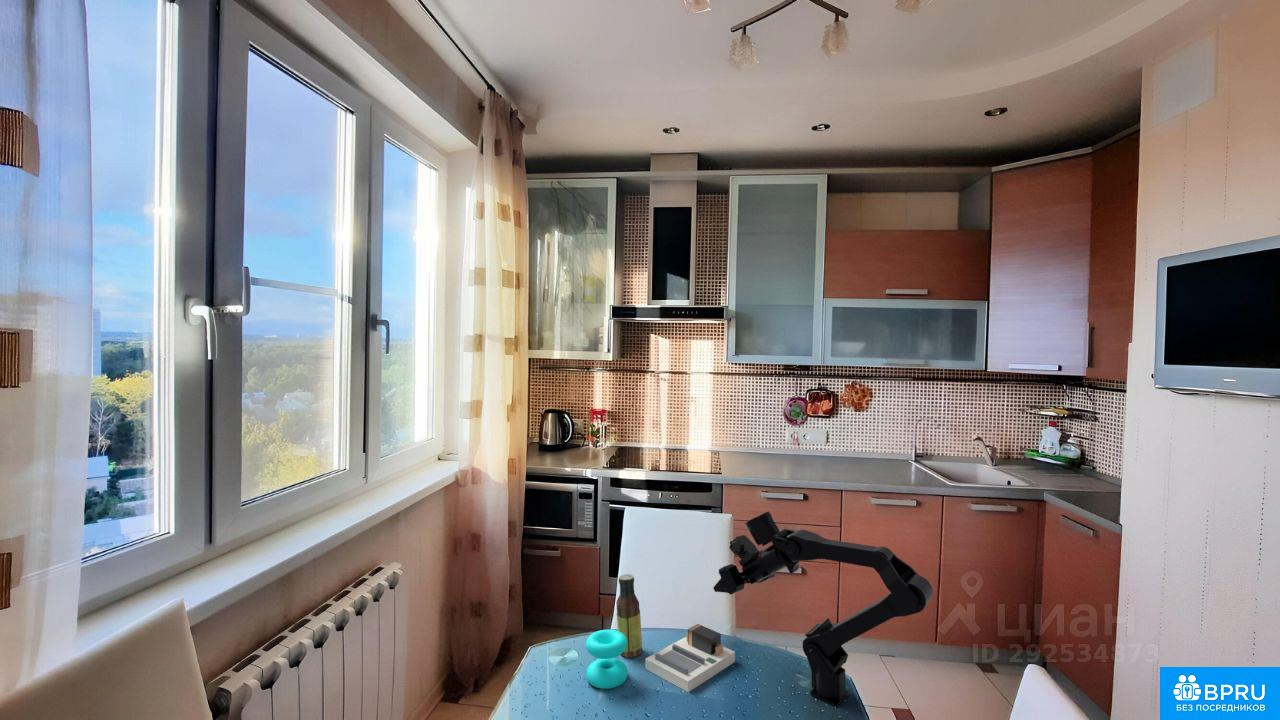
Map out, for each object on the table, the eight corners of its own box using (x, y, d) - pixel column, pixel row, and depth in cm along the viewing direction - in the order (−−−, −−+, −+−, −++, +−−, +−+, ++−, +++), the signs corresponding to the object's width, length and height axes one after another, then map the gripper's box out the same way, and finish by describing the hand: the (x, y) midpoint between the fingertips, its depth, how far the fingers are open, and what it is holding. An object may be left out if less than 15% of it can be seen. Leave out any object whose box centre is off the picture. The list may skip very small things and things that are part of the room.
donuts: (634, 632, 131) (613, 651, 122) (635, 673, 131) (614, 695, 122) (599, 624, 136) (577, 642, 127) (600, 664, 136) (578, 684, 127)
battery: (721, 649, 137) (720, 633, 137) (711, 655, 134) (710, 639, 134) (697, 638, 142) (696, 623, 142) (686, 644, 140) (686, 628, 140)
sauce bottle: (643, 647, 144) (641, 572, 144) (641, 659, 137) (639, 581, 138) (619, 646, 144) (617, 571, 145) (615, 658, 138) (614, 580, 138)
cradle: (735, 661, 135) (734, 643, 135) (688, 692, 123) (687, 672, 123) (692, 642, 145) (692, 625, 145) (645, 668, 133) (645, 650, 133)
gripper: (772, 525, 141) (731, 549, 149) (731, 535, 128) (688, 562, 136) (794, 566, 136) (750, 589, 144) (754, 581, 123) (708, 606, 131)
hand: (724, 585), depth 139 cm, fingers open, 9 cm apart
